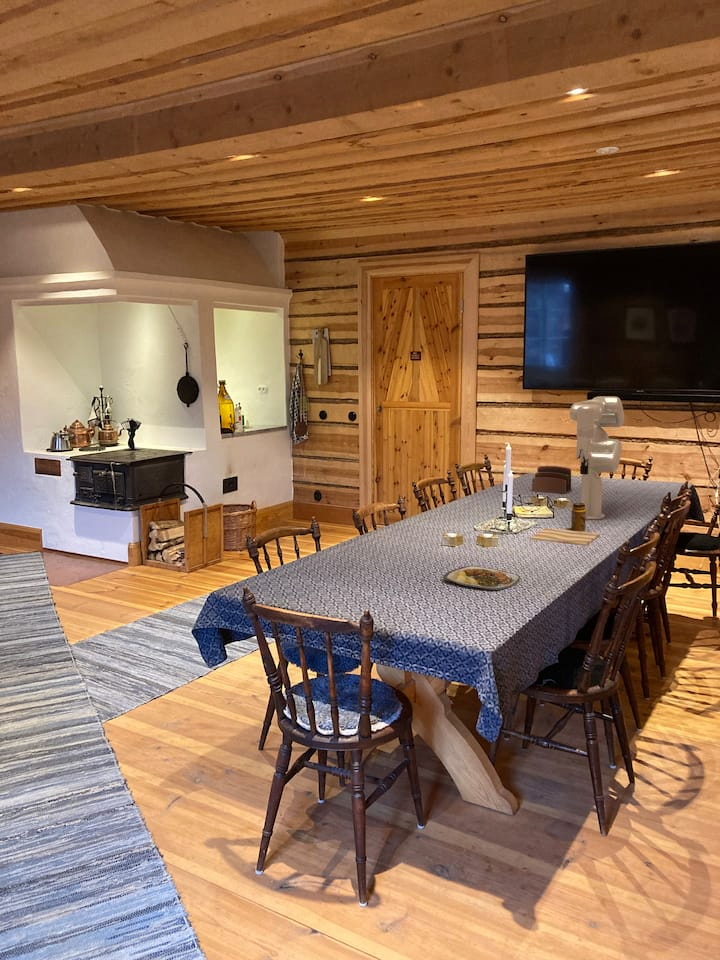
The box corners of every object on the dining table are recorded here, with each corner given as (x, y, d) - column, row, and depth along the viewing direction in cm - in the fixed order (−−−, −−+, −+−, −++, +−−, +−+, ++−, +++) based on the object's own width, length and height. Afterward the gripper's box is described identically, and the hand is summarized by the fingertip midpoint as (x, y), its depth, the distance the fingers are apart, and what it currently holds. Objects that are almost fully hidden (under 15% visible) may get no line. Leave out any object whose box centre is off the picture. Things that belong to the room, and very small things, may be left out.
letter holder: (537, 488, 450) (537, 464, 448) (571, 491, 440) (571, 467, 438) (531, 491, 442) (532, 467, 440) (565, 494, 432) (566, 469, 429)
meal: (498, 596, 256) (498, 589, 255) (433, 582, 271) (433, 575, 270) (531, 578, 275) (531, 571, 275) (469, 566, 290) (469, 559, 290)
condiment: (588, 531, 342) (589, 504, 340) (570, 532, 341) (571, 505, 339) (581, 527, 349) (582, 501, 347) (563, 528, 348) (564, 502, 346)
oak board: (545, 529, 346) (545, 528, 346) (599, 535, 333) (599, 533, 333) (529, 539, 329) (529, 537, 329) (586, 545, 317) (586, 543, 317)
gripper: (581, 431, 354) (580, 471, 357) (572, 434, 342) (570, 475, 345) (598, 432, 350) (597, 472, 353) (589, 435, 338) (587, 476, 341)
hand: (584, 474), depth 349 cm, fingers closed
